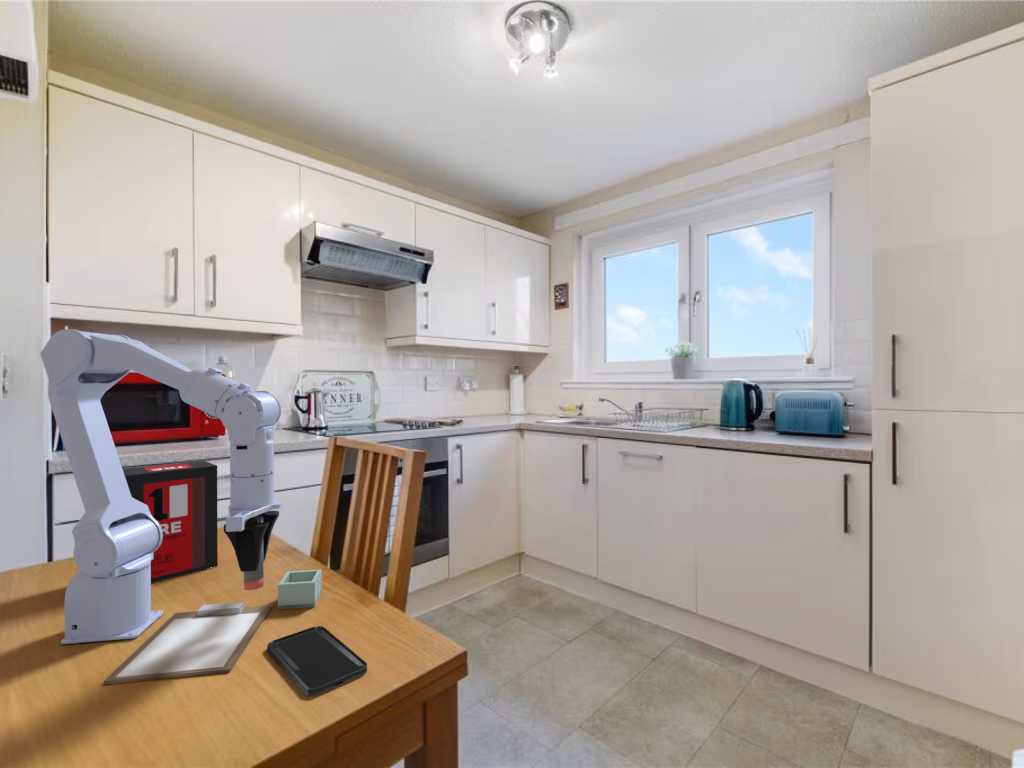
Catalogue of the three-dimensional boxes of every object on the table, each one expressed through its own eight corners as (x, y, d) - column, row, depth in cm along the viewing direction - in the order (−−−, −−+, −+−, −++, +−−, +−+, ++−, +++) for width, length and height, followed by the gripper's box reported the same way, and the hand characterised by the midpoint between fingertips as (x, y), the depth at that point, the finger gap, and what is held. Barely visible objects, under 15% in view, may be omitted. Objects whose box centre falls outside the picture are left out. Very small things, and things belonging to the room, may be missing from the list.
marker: (240, 590, 72) (240, 521, 72) (247, 583, 74) (247, 516, 74) (260, 589, 72) (260, 520, 72) (266, 582, 75) (265, 515, 75)
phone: (320, 624, 74) (370, 666, 63) (320, 631, 74) (370, 674, 63) (264, 643, 68) (307, 692, 57) (264, 651, 68) (307, 702, 57)
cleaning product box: (110, 592, 86) (110, 477, 86) (103, 578, 93) (103, 470, 93) (217, 566, 98) (217, 465, 98) (204, 555, 105) (204, 460, 104)
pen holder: (277, 609, 80) (277, 584, 80) (287, 594, 85) (287, 571, 85) (314, 606, 81) (314, 582, 81) (321, 592, 86) (321, 569, 86)
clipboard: (103, 684, 60) (103, 672, 60) (175, 615, 78) (175, 606, 78) (229, 672, 63) (229, 661, 63) (271, 608, 80) (271, 599, 80)
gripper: (265, 483, 67) (266, 584, 67) (294, 464, 81) (294, 548, 81) (208, 484, 65) (209, 588, 65) (247, 466, 80) (247, 550, 80)
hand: (252, 566), depth 73 cm, fingers closed on marker, 3 cm apart
